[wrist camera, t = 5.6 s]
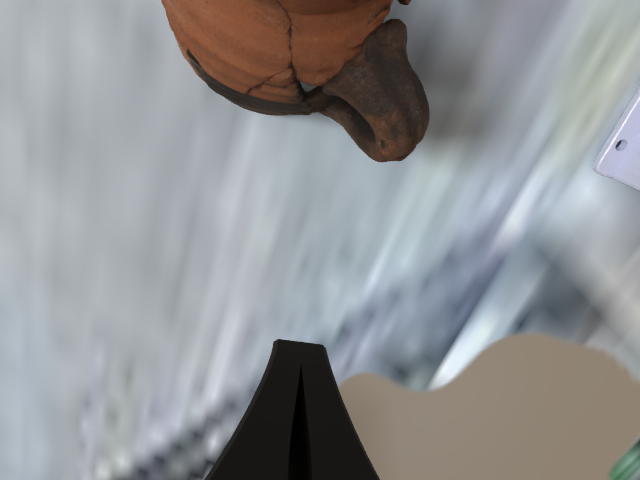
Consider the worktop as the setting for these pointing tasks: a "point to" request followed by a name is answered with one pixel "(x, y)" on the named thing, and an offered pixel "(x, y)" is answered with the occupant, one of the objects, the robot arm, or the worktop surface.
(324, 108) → the pottery mug
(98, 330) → the worktop surface
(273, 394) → the robot arm
